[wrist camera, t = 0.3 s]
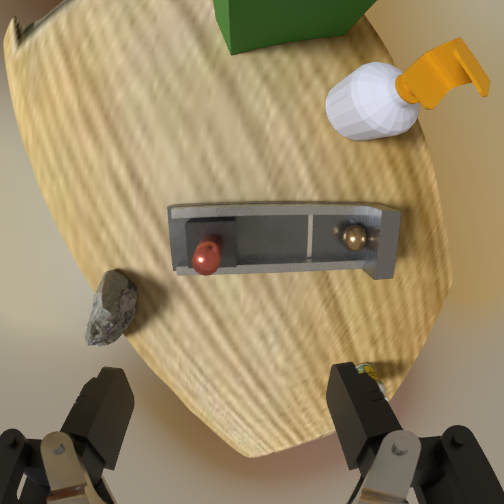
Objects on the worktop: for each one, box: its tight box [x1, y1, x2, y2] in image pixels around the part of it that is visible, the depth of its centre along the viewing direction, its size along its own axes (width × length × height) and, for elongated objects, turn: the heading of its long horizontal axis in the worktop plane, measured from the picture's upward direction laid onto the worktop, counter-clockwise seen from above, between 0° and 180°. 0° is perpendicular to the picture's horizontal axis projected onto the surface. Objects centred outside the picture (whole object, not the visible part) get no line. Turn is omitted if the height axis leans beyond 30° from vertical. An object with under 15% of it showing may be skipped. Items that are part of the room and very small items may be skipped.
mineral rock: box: [85, 270, 137, 346], centre depth 36 cm, size 13×11×10 cm
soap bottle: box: [326, 38, 490, 141], centre depth 22 cm, size 9×9×25 cm
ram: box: [185, 217, 237, 275], centre depth 32 cm, size 6×6×10 cm
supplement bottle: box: [356, 363, 388, 402], centre depth 43 cm, size 5×5×10 cm
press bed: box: [167, 201, 401, 280], centre depth 35 cm, size 9×30×8 cm, turn 91°
